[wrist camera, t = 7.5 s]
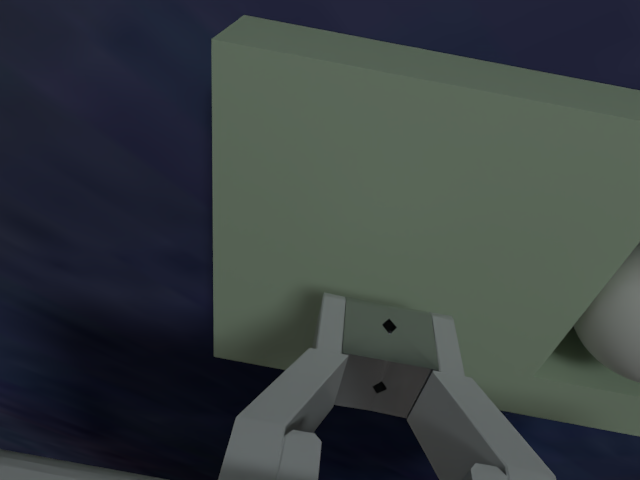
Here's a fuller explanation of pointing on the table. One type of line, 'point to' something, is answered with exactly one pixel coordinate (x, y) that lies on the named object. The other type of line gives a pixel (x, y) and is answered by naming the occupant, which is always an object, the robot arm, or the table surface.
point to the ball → (616, 321)
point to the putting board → (422, 206)
